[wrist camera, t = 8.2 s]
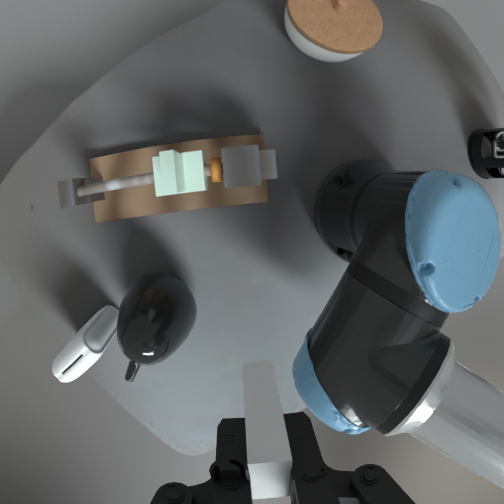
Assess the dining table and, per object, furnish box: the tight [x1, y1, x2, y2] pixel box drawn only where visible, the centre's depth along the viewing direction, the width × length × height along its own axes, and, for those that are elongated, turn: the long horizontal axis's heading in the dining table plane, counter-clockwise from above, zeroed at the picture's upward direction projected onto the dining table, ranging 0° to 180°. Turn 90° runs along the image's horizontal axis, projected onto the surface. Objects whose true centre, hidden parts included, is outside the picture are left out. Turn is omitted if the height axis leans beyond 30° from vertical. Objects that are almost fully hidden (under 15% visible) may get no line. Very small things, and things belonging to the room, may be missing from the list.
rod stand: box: [58, 134, 278, 223], centre depth 34 cm, size 24×9×11 cm, turn 95°
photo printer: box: [52, 305, 119, 382], centre depth 37 cm, size 10×4×12 cm, turn 129°
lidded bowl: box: [284, 0, 383, 62], centre depth 30 cm, size 13×13×11 cm
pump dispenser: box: [116, 273, 197, 382], centre depth 35 cm, size 10×10×15 cm
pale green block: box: [152, 150, 208, 197], centre depth 28 cm, size 5×4×9 cm
